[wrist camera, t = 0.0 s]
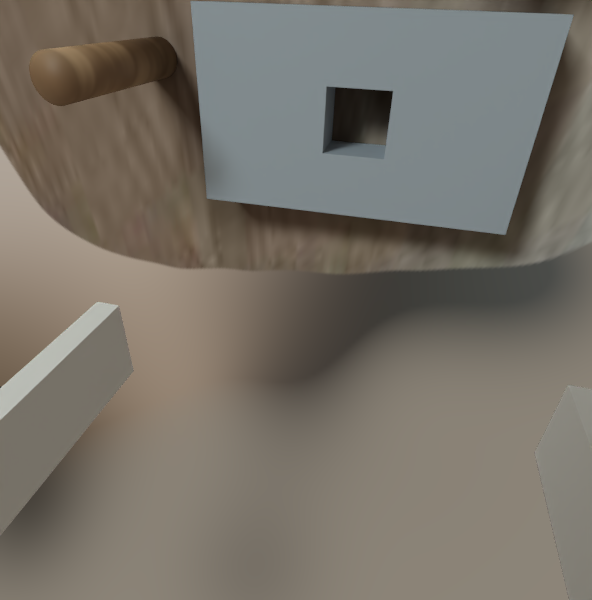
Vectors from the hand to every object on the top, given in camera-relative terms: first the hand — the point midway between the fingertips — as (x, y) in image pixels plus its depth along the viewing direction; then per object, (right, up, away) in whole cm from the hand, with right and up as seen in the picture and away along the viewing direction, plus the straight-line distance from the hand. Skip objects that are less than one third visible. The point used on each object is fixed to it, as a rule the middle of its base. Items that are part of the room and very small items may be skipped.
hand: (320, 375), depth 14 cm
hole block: (+5, +17, +22) cm, 28 cm away
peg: (-12, +22, +24) cm, 34 cm away
